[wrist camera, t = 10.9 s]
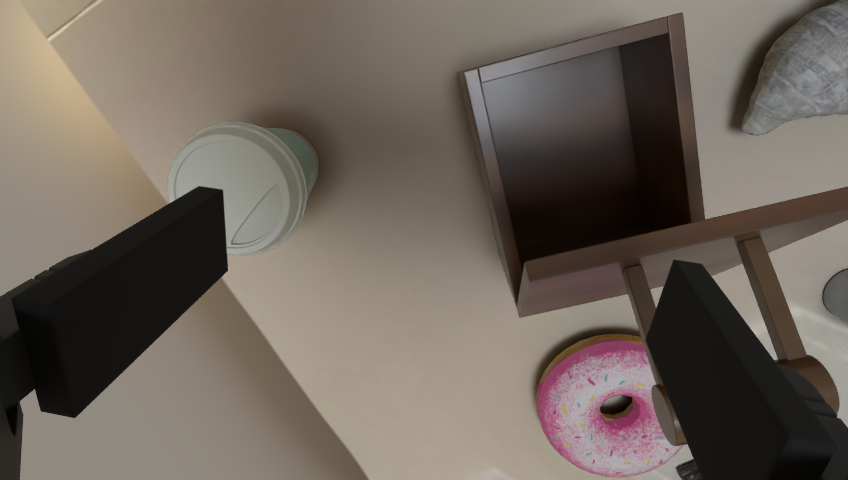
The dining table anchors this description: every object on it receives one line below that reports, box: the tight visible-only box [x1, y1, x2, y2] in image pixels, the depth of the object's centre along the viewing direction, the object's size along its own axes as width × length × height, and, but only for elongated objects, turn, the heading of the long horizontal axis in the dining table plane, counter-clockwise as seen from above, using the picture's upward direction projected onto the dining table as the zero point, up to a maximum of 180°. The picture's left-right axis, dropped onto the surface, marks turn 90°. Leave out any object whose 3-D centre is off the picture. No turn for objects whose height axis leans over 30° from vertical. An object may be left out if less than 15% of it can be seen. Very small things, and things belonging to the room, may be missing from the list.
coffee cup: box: [167, 121, 319, 255], centre depth 37 cm, size 9×8×12 cm
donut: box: [536, 334, 683, 477], centre depth 46 cm, size 14×13×5 cm
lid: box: [517, 187, 848, 446], centre depth 26 cm, size 17×13×8 cm
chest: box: [458, 13, 705, 307], centre depth 37 cm, size 16×13×10 cm
